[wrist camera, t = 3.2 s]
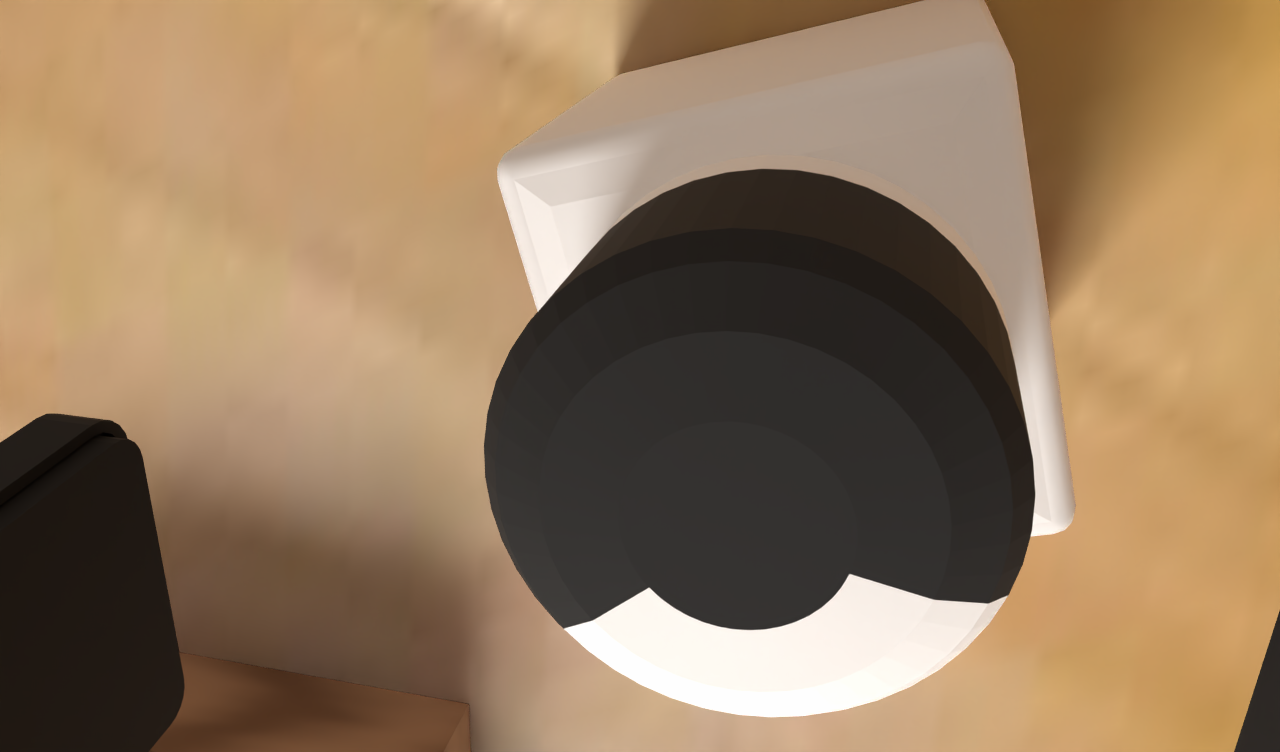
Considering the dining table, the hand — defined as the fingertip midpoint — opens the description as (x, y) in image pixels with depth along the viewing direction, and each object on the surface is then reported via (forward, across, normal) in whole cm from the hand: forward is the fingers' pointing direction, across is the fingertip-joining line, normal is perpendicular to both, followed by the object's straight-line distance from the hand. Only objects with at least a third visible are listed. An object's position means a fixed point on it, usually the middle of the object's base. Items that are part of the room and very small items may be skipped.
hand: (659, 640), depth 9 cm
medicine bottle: (+15, 0, +1) cm, 15 cm away
